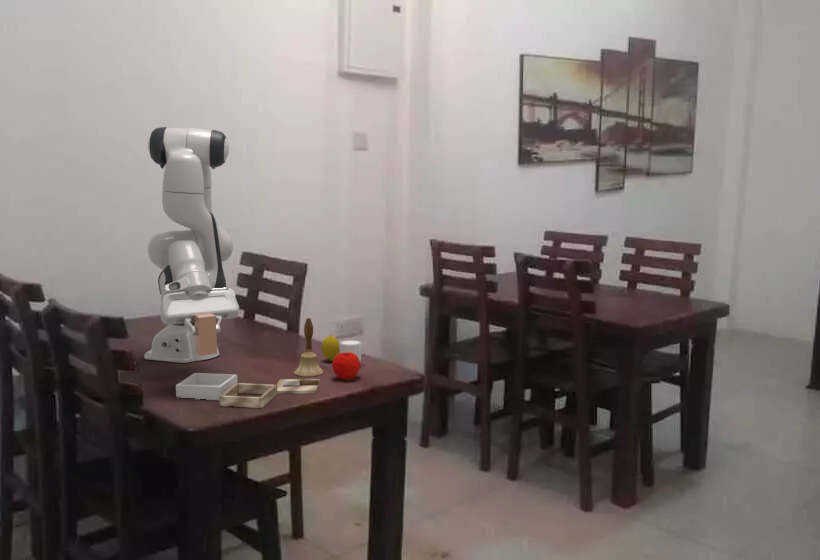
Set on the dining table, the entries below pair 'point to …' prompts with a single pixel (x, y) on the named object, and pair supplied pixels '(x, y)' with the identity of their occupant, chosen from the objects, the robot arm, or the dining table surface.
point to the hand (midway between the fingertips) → (206, 333)
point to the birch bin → (251, 402)
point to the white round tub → (351, 347)
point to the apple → (346, 365)
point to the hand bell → (308, 355)
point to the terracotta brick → (206, 334)
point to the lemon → (330, 347)
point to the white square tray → (205, 386)
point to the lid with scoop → (297, 386)
